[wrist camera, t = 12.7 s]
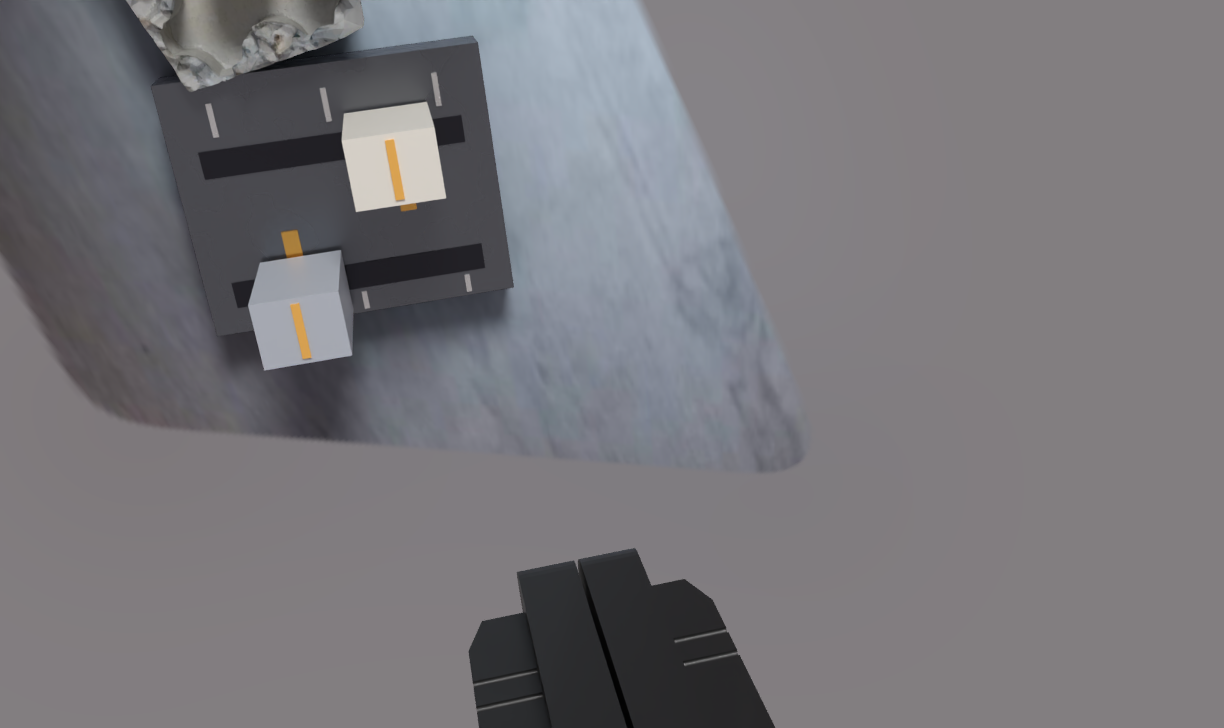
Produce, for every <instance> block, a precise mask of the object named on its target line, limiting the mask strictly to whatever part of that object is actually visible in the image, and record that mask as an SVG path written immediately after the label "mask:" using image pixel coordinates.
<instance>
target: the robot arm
mask: <svg viewBox="0 0 1224 728" xmlns="http://www.w3.org/2000/svg"><path fill="white" fill-rule="evenodd" d="M578 571H579V573H578ZM517 578H518V584H519V590H520V597H521V603H522V609H523V613H519V614H515V615H510V616H505V617H501V618H495V619H491V620H486V621H482V623H481V625H480V627H479V629H478V632H477V634H476V636H475V638H474V640H473V643H472V645H471V647H470V649H469V658H470V664H471V672H472V679H473V686H474V694H475V701H476V708H477V715H478V723H479V728H775V726H774V724H773V722H772V720H771V718H770V716H769V714H768V712H767V710H766V708H765V706H764V704H763V702H762V700H761V698H760V696H759V694H758V692H757V690H756V688H755V686H754V684H753V681H752V679H751V677H750V675H749V673H748V671H747V669H746V667H745V665H744V663H743V661H742V659H741V657H740V655H738V653H737V649H736V647H735V645H734V643H733V641H732V639H731V637H730V635H729V633H727V631H726V626H725V624H724V622H723V620H722V618H721V616H720V614H719V612H718V610H717V608H716V606H715V604H714V602H713V600H712V599H711V598H709V597H708V596H707V595H705V594H704V593H703V592H701V591H700V590H699V589H697V588H696V587H695V586H693V585H692V584H690V583H689V582H688V581H686V580H685V579H683V580H678V581H673V582H668V583H663V584H658V585H653V586H651V584H650V581H649V579H648V577H647V574H646V571H645V569H644V567H643V564H642V562H641V560H640V557H639V555H638V552H637V550H636V549H635V548H633V549H628V550H623V551H618V552H613V553H608V554H603V555H598V556H593V557H588V558H583V559H579V560H578V570H577V567H576V564H575V562H574V561H569V562H564V563H559V564H554V565H549V566H545V567H540V568H535V569H530V570H525V571H520V572H517Z"/></svg>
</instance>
